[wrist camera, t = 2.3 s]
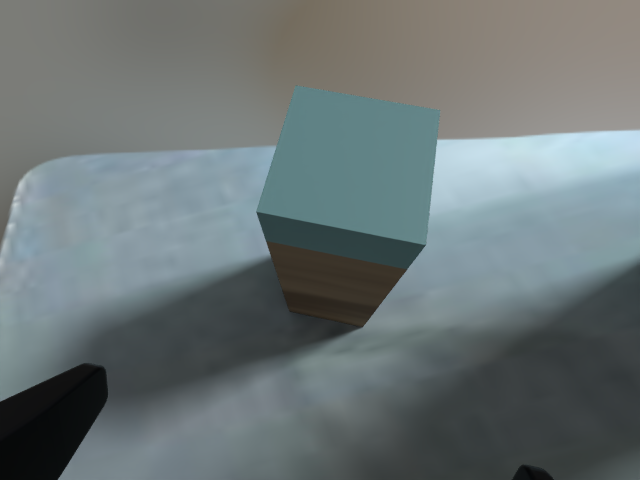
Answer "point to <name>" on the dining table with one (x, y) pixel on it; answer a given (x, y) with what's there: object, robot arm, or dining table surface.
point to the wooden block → (347, 200)
